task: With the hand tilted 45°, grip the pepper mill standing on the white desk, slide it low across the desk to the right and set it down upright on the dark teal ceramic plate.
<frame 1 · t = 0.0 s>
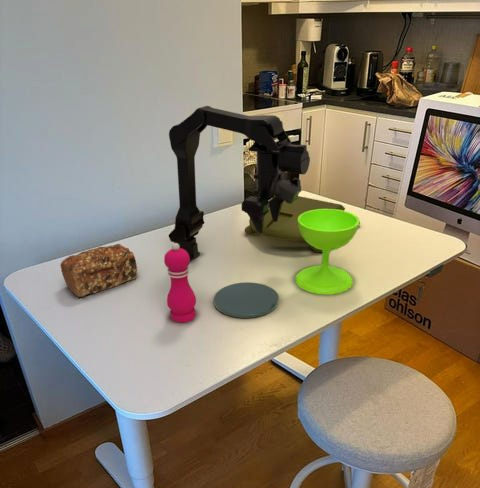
hand: (267, 227, 135), 15 cm above the table, tool pointing down, fingers open, 9 cm apart
bread: (102, 283, 142), on the table
plate: (246, 301, 130), on the table
pepper mill: (183, 316, 125), on the table
wineglass: (323, 280, 139), on the table
spaceship: (298, 233, 168), on the table
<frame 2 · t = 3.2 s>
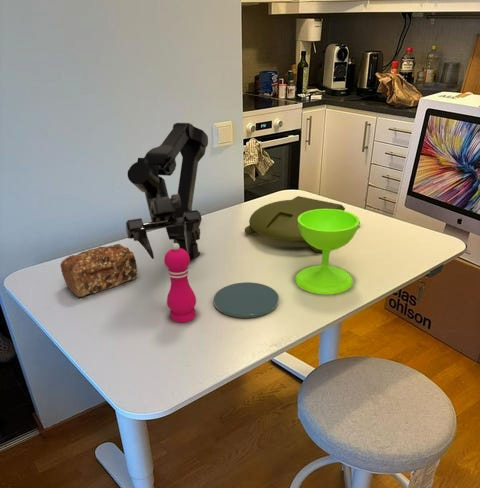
hand: (171, 255, 124), 14 cm above the table, tool tilted 45°, fingers open, 9 cm apart
nothing on the table moved.
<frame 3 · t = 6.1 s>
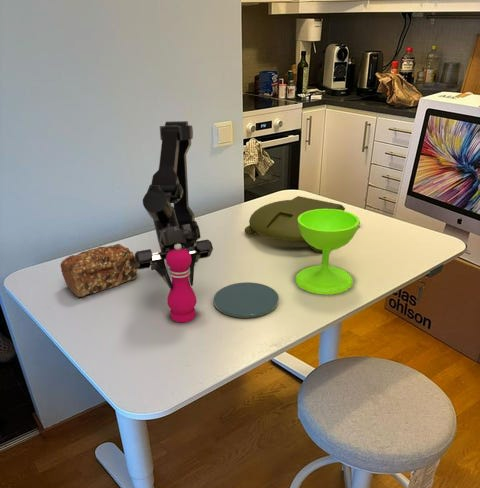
hand: (181, 287, 119), 9 cm above the table, tool tilted 45°, fingers closed on pepper mill, 5 cm apart
pepper mill: (183, 316, 125), on the table, touching gripper
everything else where it was.
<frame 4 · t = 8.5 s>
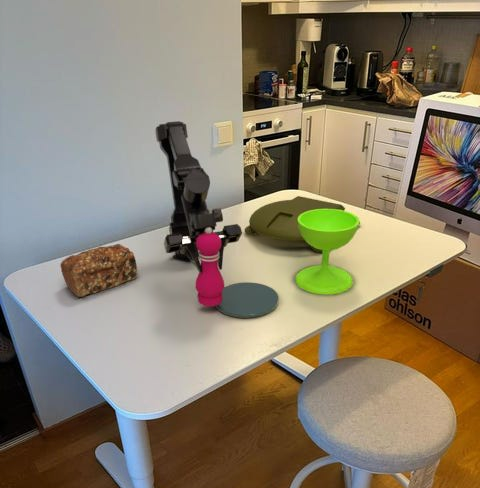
hand: (211, 271, 120), 12 cm above the table, tool tilted 45°, fingers closed on pepper mill, 5 cm apart
pepper mill: (210, 300, 126), point 3 cm above the table, touching gripper
everything else where it was.
when the fingers open (10 cm above the table, at t = 10.9 s): pepper mill stays where it is, resting on plate.
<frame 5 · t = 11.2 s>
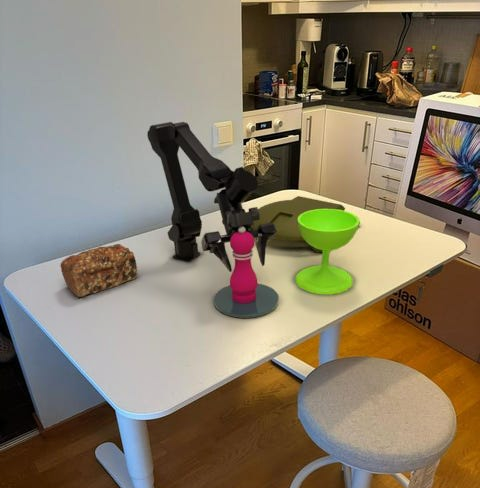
hand: (247, 268, 123), 10 cm above the table, tool tilted 45°, fingers open, 8 cm apart
pepper mill: (244, 298, 130), point 1 cm above the table, touching plate
everything else where it was.
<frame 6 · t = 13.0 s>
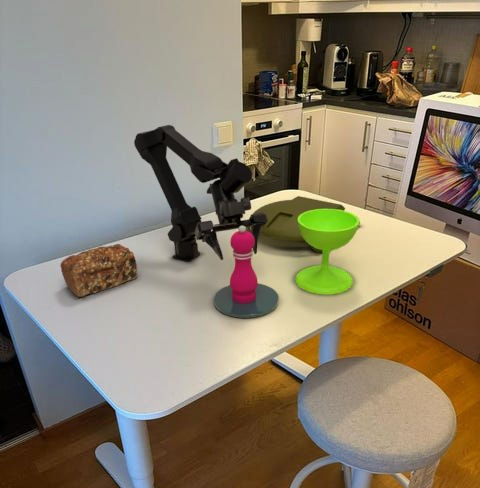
hand: (239, 256, 128), 11 cm above the table, tool tilted 45°, fingers open, 9 cm apart
nothing on the table moved.
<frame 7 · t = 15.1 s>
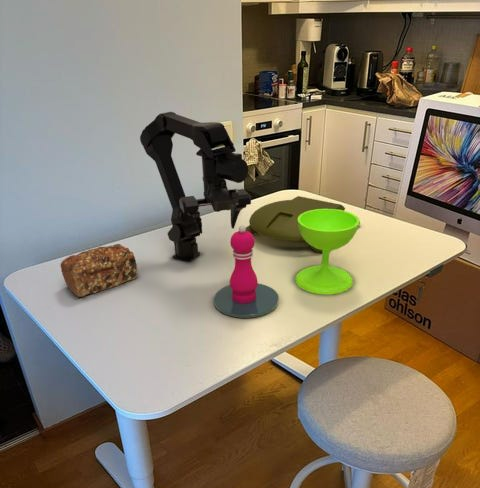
hand: (217, 230, 138), 13 cm above the table, tool pointing down, fingers open, 9 cm apart
nothing on the table moved.
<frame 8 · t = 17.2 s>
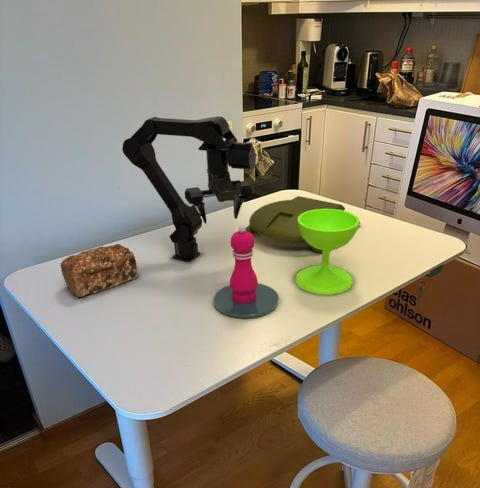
hand: (220, 220, 144), 13 cm above the table, tool pointing down, fingers open, 9 cm apart
nothing on the table moved.
at the end: pepper mill inside the target area on the plate (0.5 cm from its centre), point 1.0 cm above the plate's base; pepper mill tilted 0°; the gripper is holding nothing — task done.
